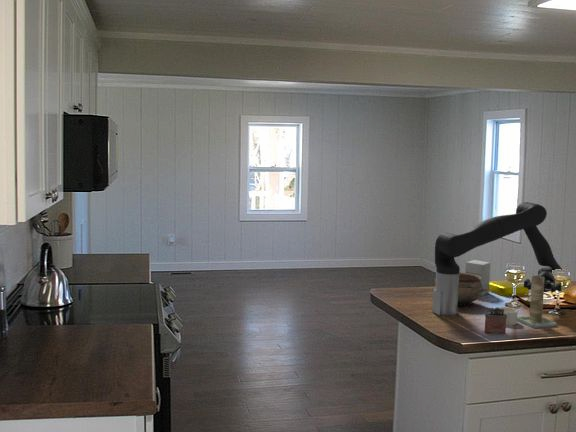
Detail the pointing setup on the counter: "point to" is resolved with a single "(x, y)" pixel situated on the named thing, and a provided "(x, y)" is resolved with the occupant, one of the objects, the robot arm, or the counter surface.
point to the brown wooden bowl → (469, 288)
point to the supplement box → (480, 272)
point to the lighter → (495, 321)
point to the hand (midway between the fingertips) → (540, 288)
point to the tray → (544, 324)
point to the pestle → (536, 299)
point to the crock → (510, 315)
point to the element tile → (506, 288)
